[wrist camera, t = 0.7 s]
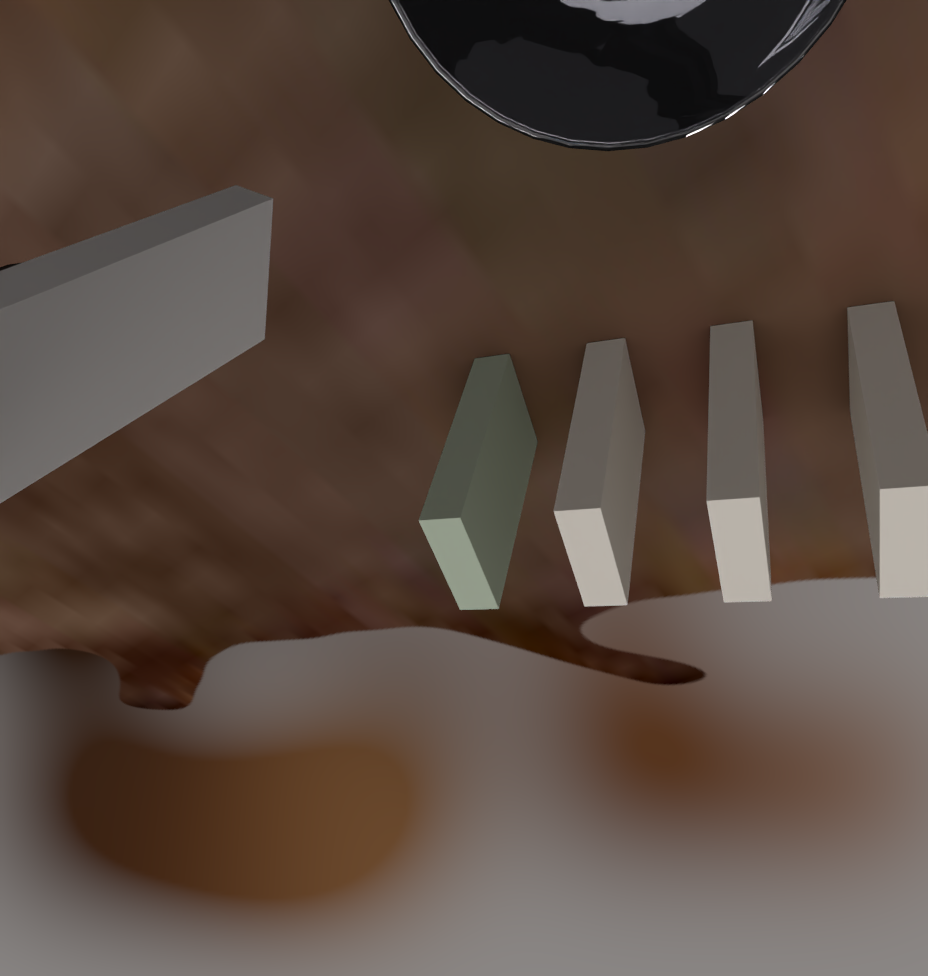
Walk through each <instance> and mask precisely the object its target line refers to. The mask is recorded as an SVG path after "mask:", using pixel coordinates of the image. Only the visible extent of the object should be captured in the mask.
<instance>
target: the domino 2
mask: <svg viewBox="0 0 928 976" xmlns="http://www.w3.org/2000/svg"><path fill="white" fill-rule="evenodd" d="M644 438H645V428H644V423H643V418H642V414H641V409H640V405H639V400H638V395H637V391H636V386H635V382H634V377H633V372H632V368H631V363H630V359H629V354H628V349H627V345H626V340H625V338H621V339H614V340H606V341H599V342H592V343H587V345H586V350H585V355H584V360H583V365H582V370H581V375H580V380H579V385H578V390H577V396H576V401H575V406H574V411H573V416H572V421H571V426H570V431H569V436H568V441H567V446H566V451H565V456H564V461H563V467H562V472H561V477H560V482H559V487H558V492H557V497H556V502H555V507H554V514H555V517H556V520H557V523H558V526H559V529H560V532H561V535H562V538H563V541H564V545H565V548H566V551H567V554H568V557H569V560H570V563H571V566H572V569H573V572H574V575H575V578H576V581H577V584H578V587H579V590H580V594H581V597H582V600H583V603H584V606H614V605H628V595H629V585H630V575H631V566H632V556H633V546H634V536H635V526H636V517H637V507H638V497H639V487H640V477H641V468H642V458H643V448H644Z"/></svg>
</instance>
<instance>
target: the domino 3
mask: <svg viewBox="0 0 928 976" xmlns="http://www.w3.org/2000/svg"><path fill="white" fill-rule="evenodd" d="M707 507H708V512H709V518H710V524H711V530H712V536H713V542H714V548H715V553H716V559H717V565H718V571H719V577H720V583H721V589H722V594H723V599H724V602H754V601H755V602H756V601H772V595H771V574H770V553H769V532H768V511H767V490H766V469H765V448H764V427H763V414H762V404H761V395H760V385H759V376H758V366H757V357H756V348H755V338H754V329H753V320H752V321H745V322H738V323H730V324H723V325H716V326H710V366H709V411H708V457H707Z"/></svg>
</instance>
